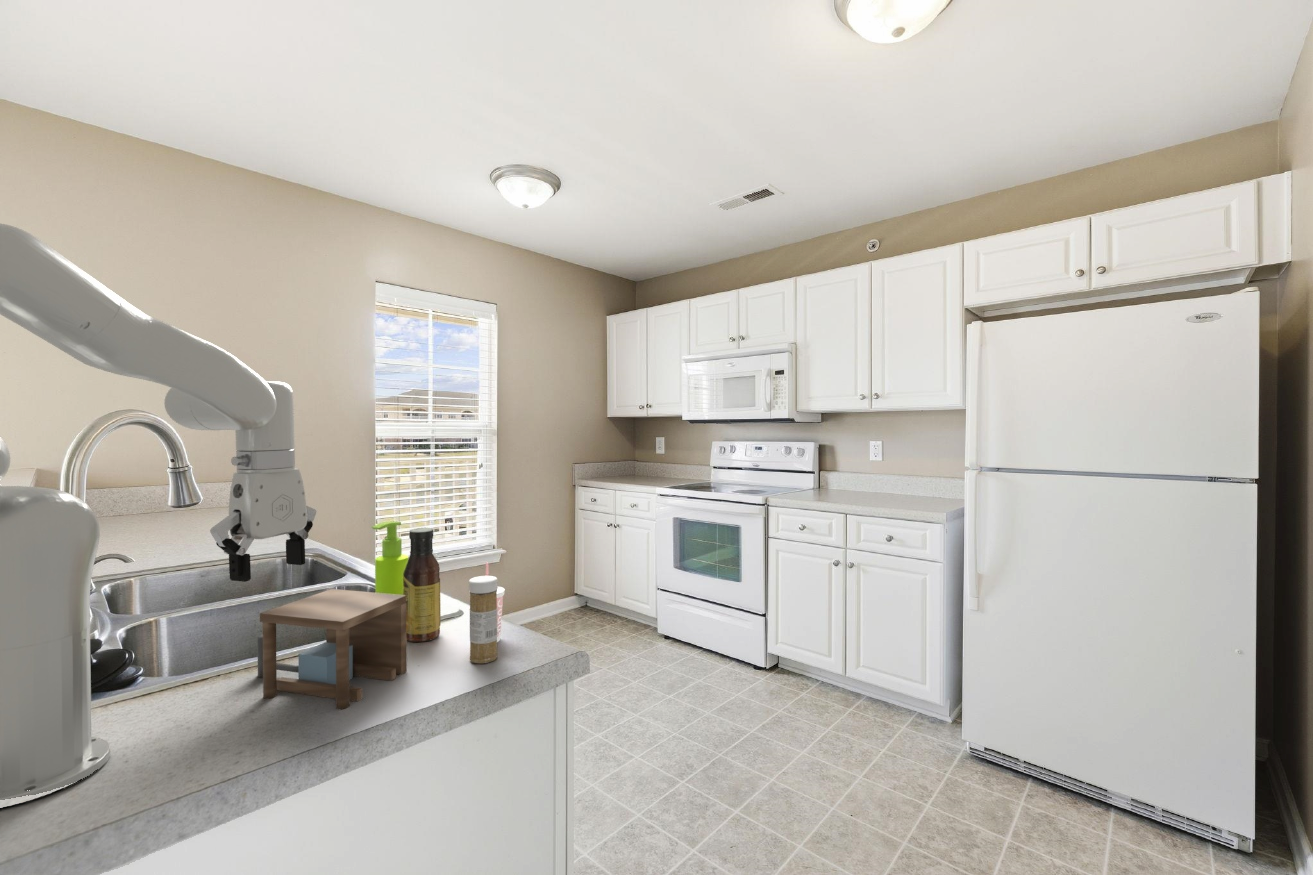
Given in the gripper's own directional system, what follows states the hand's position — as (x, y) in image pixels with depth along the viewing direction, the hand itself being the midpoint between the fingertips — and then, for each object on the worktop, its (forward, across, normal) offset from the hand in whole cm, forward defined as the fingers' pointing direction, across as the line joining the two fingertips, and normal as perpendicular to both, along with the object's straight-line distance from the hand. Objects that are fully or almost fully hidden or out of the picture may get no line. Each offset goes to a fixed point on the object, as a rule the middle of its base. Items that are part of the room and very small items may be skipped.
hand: (269, 571), depth 91 cm
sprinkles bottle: (+16, +13, -29) cm, 36 cm away
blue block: (+16, -1, -6) cm, 17 cm away
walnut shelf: (+16, -1, -13) cm, 20 cm away
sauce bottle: (+16, +19, -13) cm, 28 cm away
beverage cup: (+16, +21, -25) cm, 37 cm away
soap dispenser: (+16, +23, -3) cm, 29 cm away
